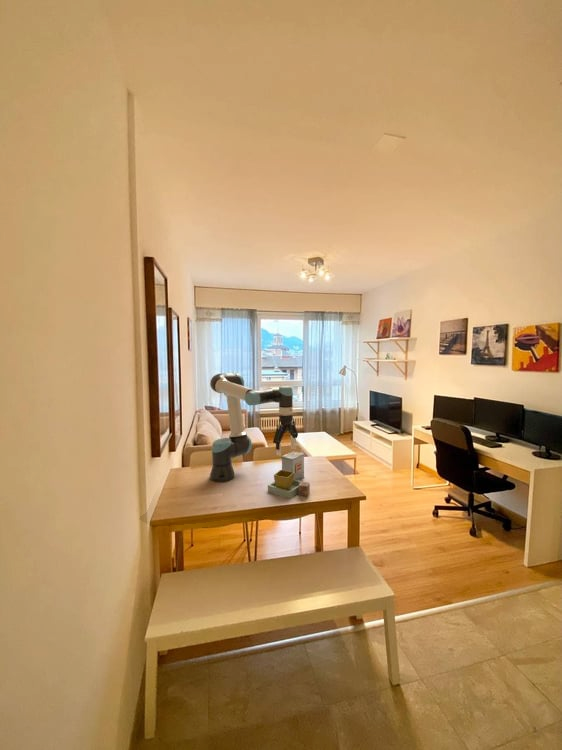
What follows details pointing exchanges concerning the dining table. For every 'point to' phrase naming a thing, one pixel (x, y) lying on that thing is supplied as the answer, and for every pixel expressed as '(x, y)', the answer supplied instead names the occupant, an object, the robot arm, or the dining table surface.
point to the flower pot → (284, 479)
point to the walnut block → (304, 489)
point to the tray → (282, 492)
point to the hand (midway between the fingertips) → (286, 452)
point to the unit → (294, 464)
